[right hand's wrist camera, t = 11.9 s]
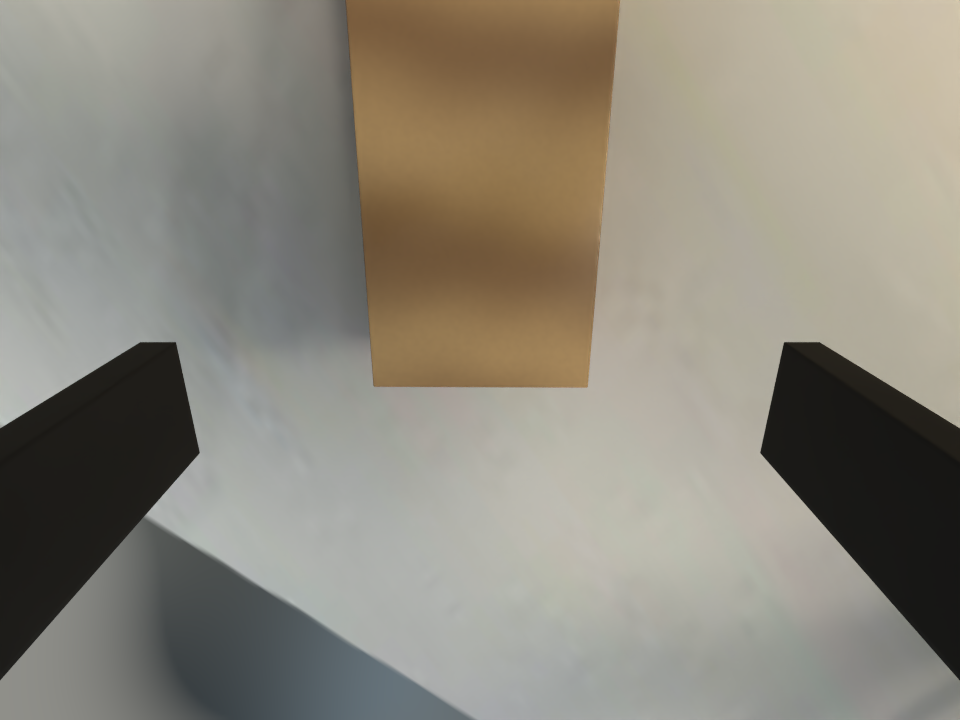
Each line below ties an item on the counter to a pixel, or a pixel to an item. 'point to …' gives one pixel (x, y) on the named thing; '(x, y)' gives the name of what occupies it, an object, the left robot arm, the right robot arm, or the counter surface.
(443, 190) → the thick board
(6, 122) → the counter surface
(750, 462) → the counter surface
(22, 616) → the right robot arm
